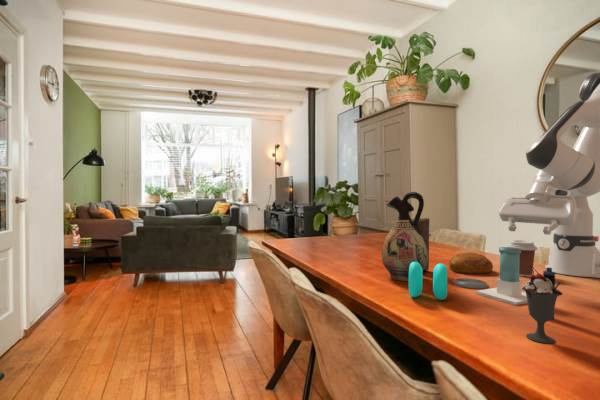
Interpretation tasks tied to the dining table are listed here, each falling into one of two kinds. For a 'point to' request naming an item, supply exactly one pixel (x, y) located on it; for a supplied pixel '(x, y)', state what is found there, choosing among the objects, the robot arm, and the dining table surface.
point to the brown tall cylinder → (425, 235)
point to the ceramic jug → (404, 239)
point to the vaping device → (550, 278)
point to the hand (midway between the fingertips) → (528, 231)
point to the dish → (470, 283)
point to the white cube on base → (506, 292)
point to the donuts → (438, 280)
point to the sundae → (541, 304)
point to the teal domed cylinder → (509, 264)
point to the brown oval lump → (470, 263)
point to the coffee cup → (525, 256)
